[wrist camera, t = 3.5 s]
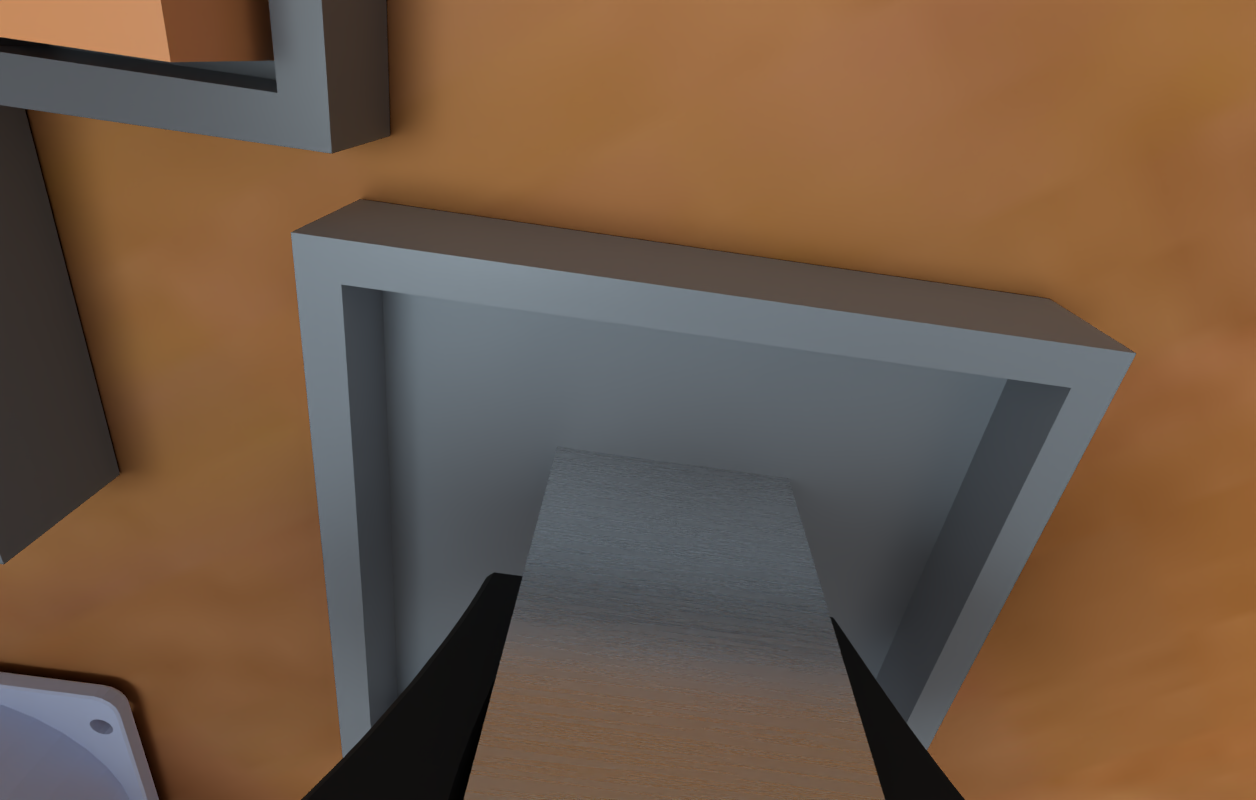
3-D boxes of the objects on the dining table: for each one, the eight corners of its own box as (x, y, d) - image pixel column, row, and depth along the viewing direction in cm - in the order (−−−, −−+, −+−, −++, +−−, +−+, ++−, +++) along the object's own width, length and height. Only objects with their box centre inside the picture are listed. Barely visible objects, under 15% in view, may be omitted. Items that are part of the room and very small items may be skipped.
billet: (739, 644, 13) (808, 1158, 7) (539, 618, 13) (432, 1113, 7) (788, 478, 12) (938, 977, 5) (557, 446, 11) (433, 915, 5)
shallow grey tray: (852, 742, 16) (879, 840, 14) (384, 683, 16) (344, 773, 14) (1048, 298, 11) (1136, 353, 9) (360, 199, 10) (290, 232, 8)
